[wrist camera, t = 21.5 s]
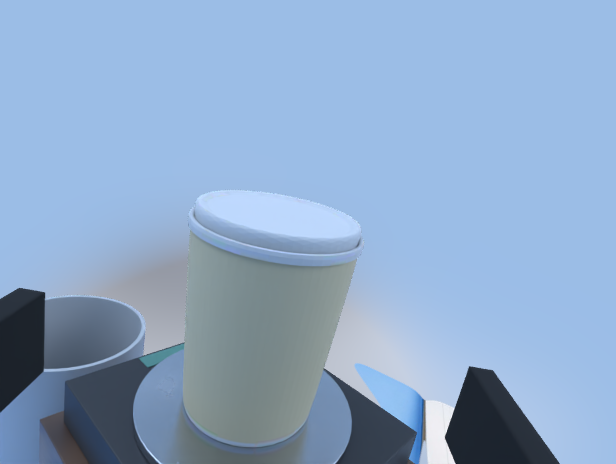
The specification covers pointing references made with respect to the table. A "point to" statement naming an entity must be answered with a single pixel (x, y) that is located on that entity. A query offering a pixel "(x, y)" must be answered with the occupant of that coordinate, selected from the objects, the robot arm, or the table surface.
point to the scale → (129, 375)
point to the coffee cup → (261, 310)
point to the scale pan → (220, 456)
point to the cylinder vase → (68, 364)
